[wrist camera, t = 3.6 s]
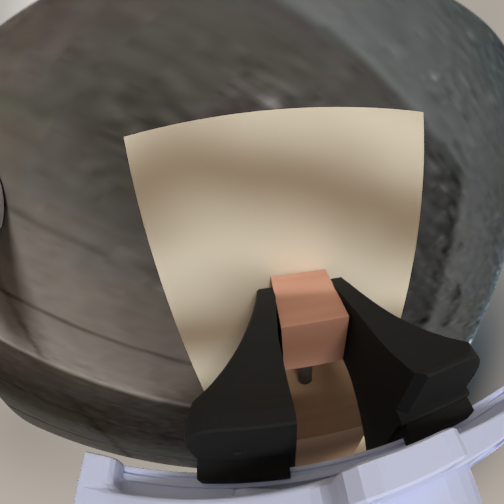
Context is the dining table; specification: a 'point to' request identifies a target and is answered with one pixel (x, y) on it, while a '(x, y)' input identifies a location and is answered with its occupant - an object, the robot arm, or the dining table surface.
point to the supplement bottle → (1, 206)
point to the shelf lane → (276, 212)
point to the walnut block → (317, 366)
